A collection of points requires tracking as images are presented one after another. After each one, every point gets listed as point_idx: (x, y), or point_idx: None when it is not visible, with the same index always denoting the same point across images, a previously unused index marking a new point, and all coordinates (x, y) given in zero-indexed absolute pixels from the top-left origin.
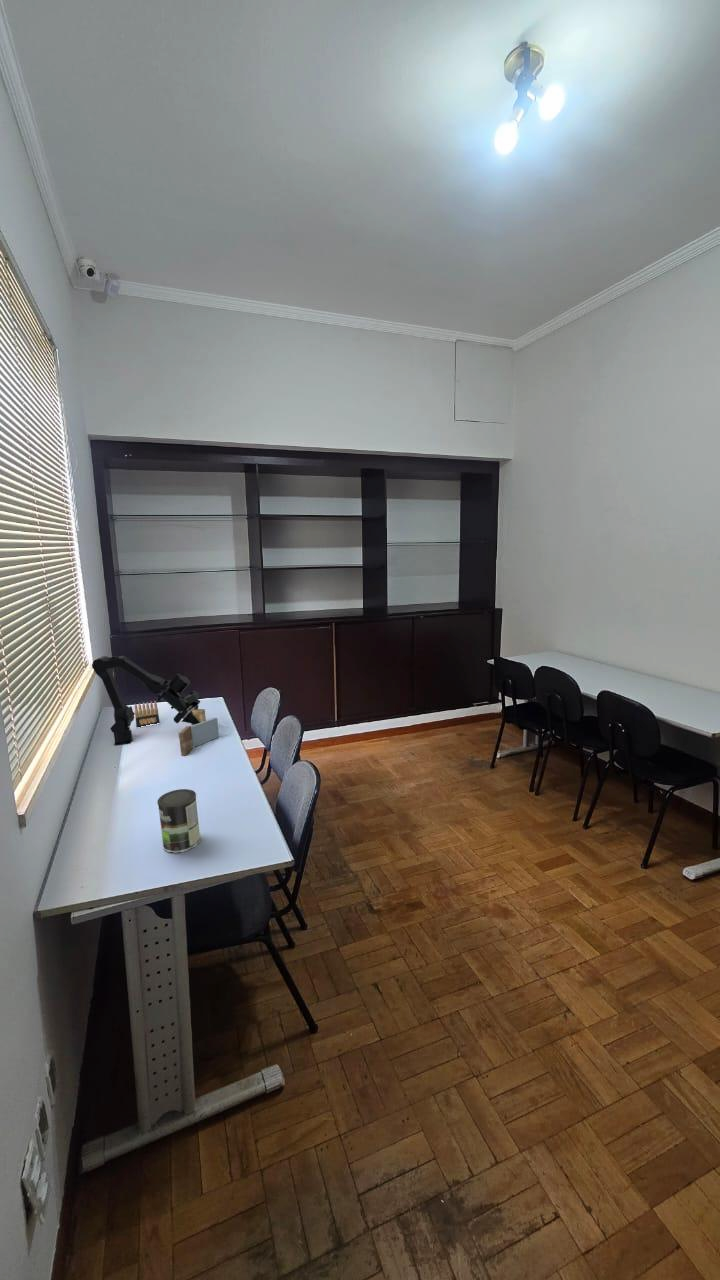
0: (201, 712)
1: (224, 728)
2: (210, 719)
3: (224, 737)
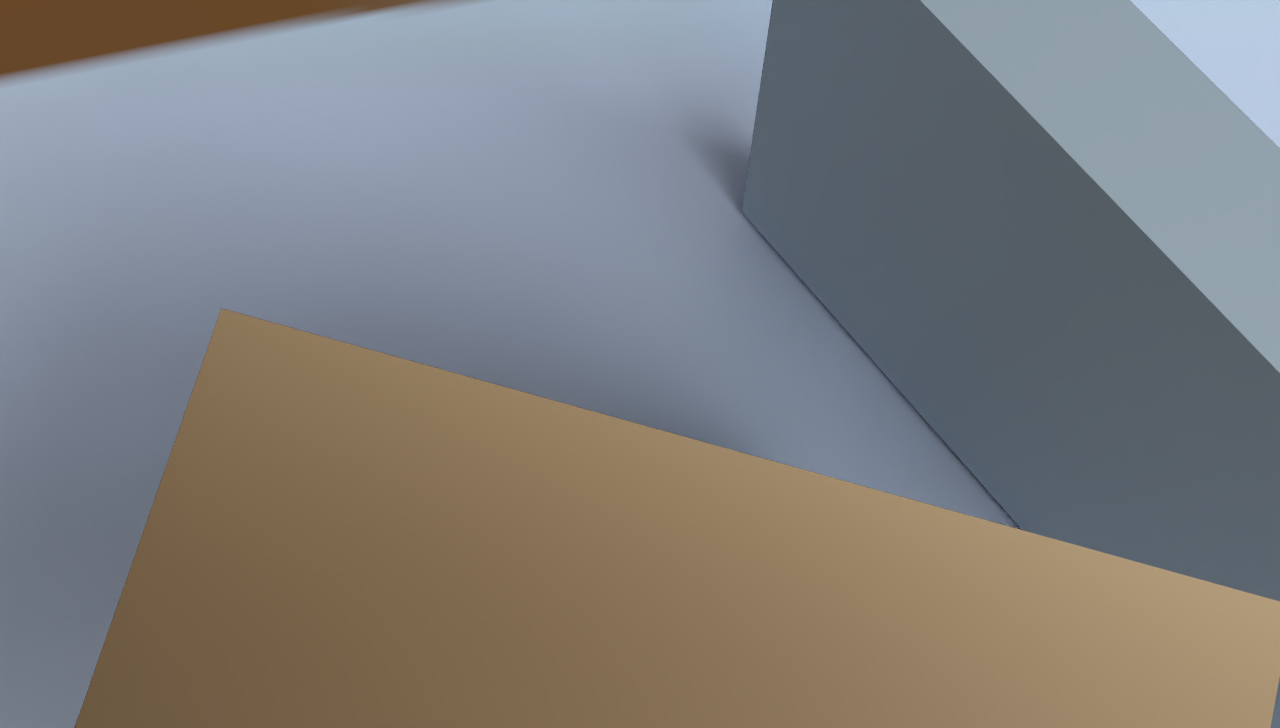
0: (1238, 619)
1: (139, 85)
2: (1072, 95)
3: None
